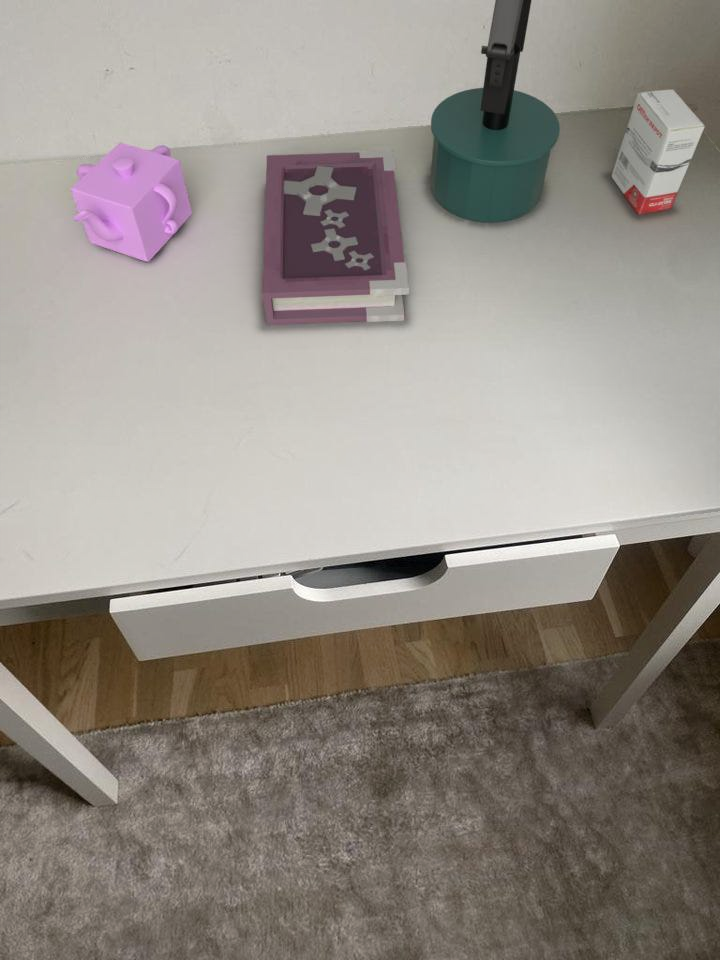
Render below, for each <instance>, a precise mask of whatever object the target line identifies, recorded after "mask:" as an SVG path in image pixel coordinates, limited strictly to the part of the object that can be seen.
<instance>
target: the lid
mask: <svg viewBox="0 0 720 960" xmlns="http://www.w3.org/2000/svg"><path fill="white" fill-rule="evenodd" d="M520 51H521V48H520V46H519V45H517V44H516V43H514V52H515V53H514V59H513V66H512V72H511V78H510V84H509V90H508V97H507V103H506V109H505V113H504V114H499V113H492V112H485V111H480V109H481V102H482V94H483V87H476V88H470V89H466V90H462V91H459V92H456V93H454V94H451V95H449V96H447V97H446V98H445V99H444V100H442V101H440V103H439V104H437V106H436V107H435V108H434V110H433V111H432V114H431V119H430V129H431V134H432V136H433V139H434V138H435V139H436V141H437V142H438V143H439V145H440V146H441V147H443V148H444V149H445V150H446V151H448V152H449V153H451V154H452V155H454V156H456V157H458V158H461V159H463V160H466V161H469V162H473V163H477V164H482V165H489V166H512V165H519V164H524V163H527V162H530V161H533V160H536V159H538V158H540V157H542V156H543V155H545V154H546V153H548V152H549V151H550V150H551V151H552V149H553V148H554V147H555V146H556V144H557V142H558V139H559V137H560V131H561V126H560V120H559V118H558V116H557V115H556V113H555V112H554V110H553V109H552V108H551V107H550V106H548V105H547V104H546V103H545V102H544V101H542V100H540V99H538V97H536V96H533V95H531V94H529V93H525V92H523V91H519V90H515V86H516V80H517V76H518V75H517V74H518V69H519V63H520V58H521V57H520V56H521V52H520Z"/></svg>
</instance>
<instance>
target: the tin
mask: <svg viewBox="0 0 720 960" xmlns="http://www.w3.org/2000/svg"><path fill="white" fill-rule="evenodd" d="M432 141H433V142H432V154H431V155H432V156H431V168H430V179H429V183H430V189H431V194H432V196H433V197H434V199H435V201H436V202H437V203H438V205H440V206H441V207H442V208H443V210H446V211H447V212H448V213H450V214H452V215H454V216H456V217H459V218H461V219H465V220H468V221H472V222H476V223H490V224H492V223H493V224H494V223H504V222H509V221H513V220H516V219H518V218H520V217H523V216H525V215H527V214H528V213H530V212H531V211H532V210H533V209H534V208H535V207H536V206H537V205H538V203H539V201H540V199H541V197H542V191H543V186H544V182H545V179H546V174H547V169H548V165H549V160H550V155H551V151H552V149H551V150H550V151H549V152H548V153H546V154H545V155H543V156H542V157H540V158H538V159H536V160H533V161H530V162H527V163H524V164H519V165H512V166H489V165H482V164H477V163H473V162H469V161H466V160H463V159H461V158H458V157H456V156H454V155H452V154H451V153H449V152H448V151H446V150H445V149H444V148H443V147H441V146H440V145H439V143H438V142H437V141H436V139H435V138H434V137H433V140H432Z"/></svg>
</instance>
